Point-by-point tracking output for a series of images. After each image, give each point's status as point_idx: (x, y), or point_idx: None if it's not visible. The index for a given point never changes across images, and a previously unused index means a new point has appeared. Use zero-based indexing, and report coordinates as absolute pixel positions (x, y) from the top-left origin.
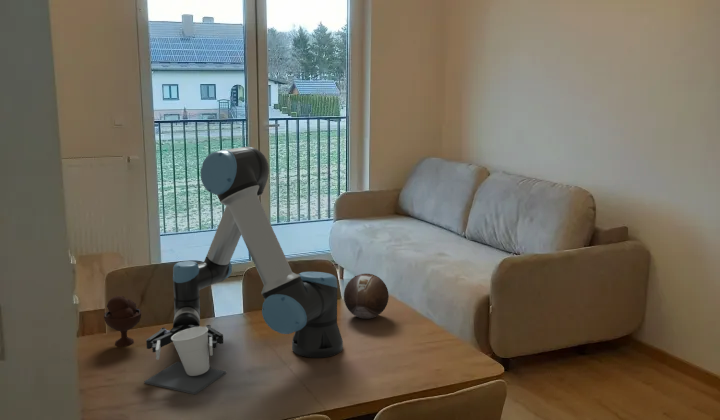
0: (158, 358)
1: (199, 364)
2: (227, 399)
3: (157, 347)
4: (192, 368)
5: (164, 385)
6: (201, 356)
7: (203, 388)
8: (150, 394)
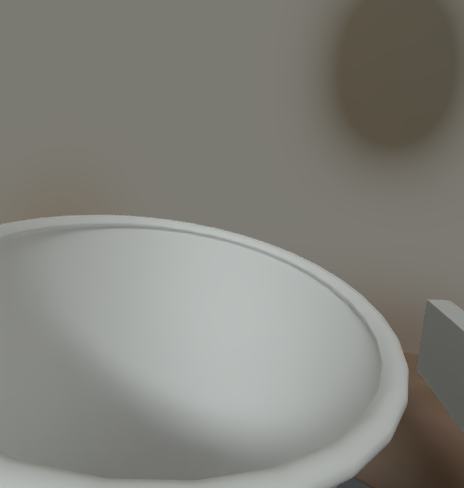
0: (421, 363)
1: (138, 432)
2: None
3: (461, 318)
4: (187, 458)
5: (356, 479)
6: (118, 384)
7: None
8: (402, 442)
